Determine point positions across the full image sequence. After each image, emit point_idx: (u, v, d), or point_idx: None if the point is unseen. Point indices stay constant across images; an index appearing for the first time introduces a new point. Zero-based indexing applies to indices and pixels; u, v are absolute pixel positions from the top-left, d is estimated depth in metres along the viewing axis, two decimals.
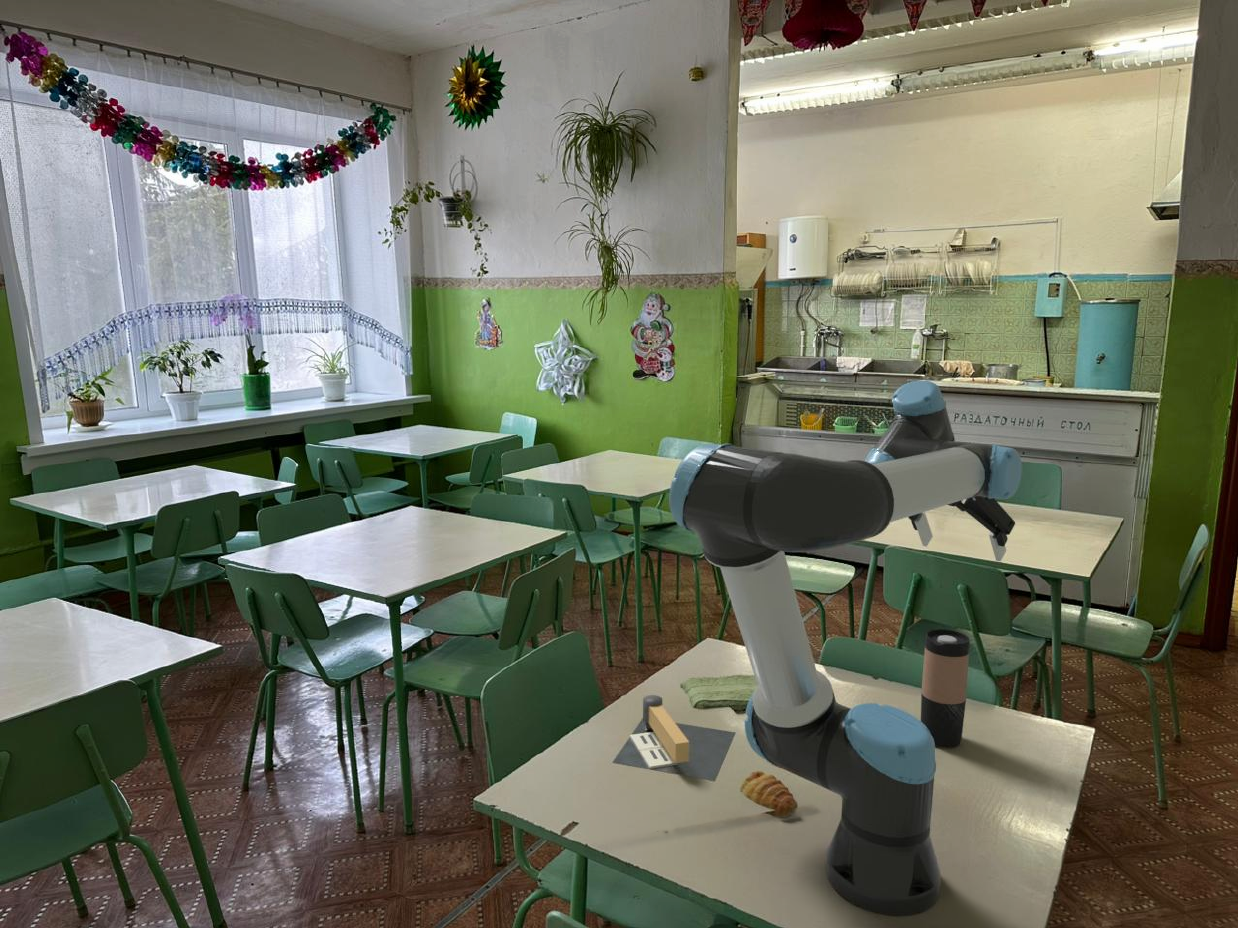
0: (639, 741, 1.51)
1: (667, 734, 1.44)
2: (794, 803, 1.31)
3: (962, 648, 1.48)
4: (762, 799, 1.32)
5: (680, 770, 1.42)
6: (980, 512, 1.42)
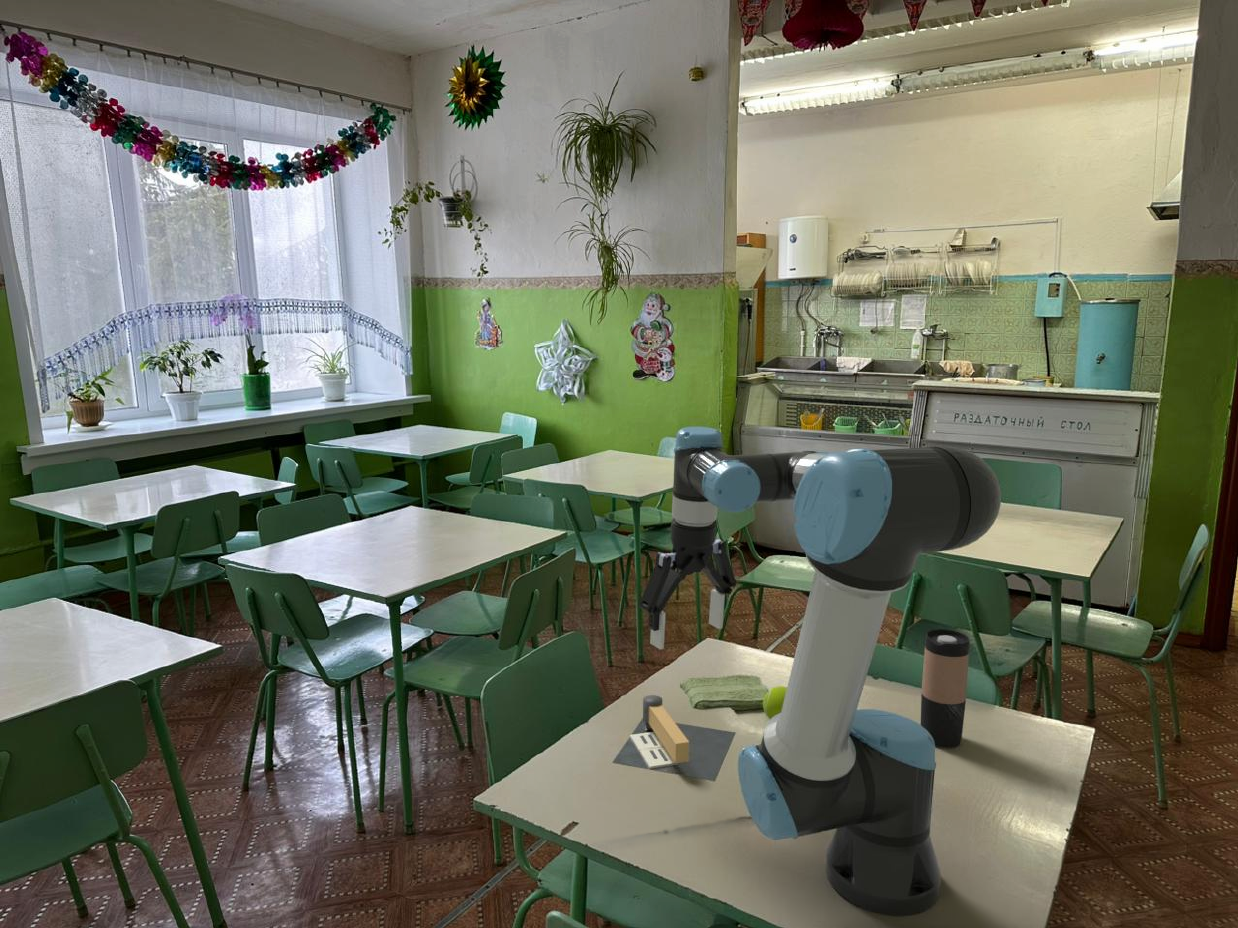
0: (639, 741, 1.51)
1: (667, 734, 1.44)
2: None
3: (962, 648, 1.48)
4: None
5: (680, 770, 1.42)
6: None
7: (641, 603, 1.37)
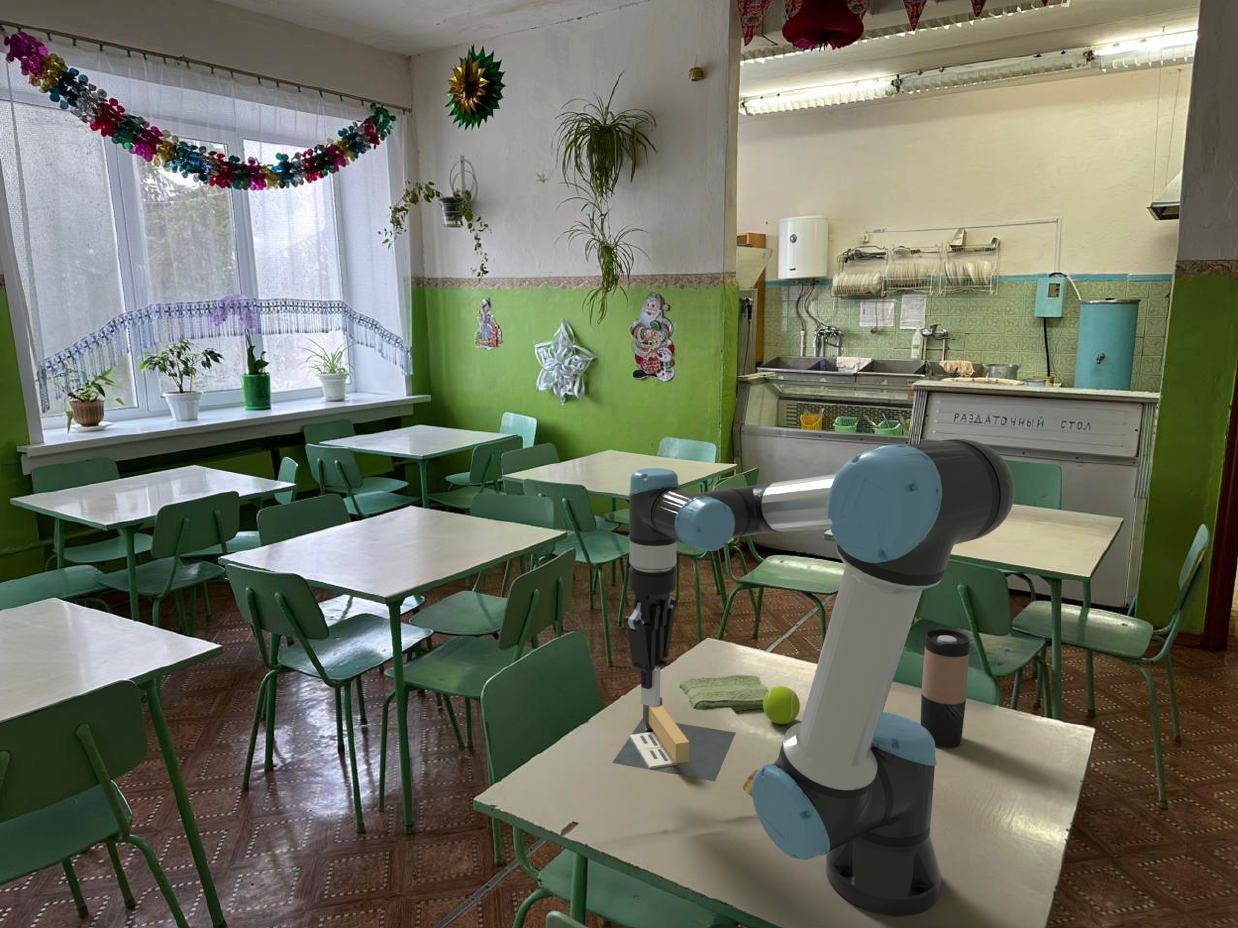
0: (639, 741, 1.51)
1: (667, 734, 1.44)
2: None
3: (962, 648, 1.48)
4: None
5: (680, 770, 1.42)
6: None
7: (634, 665, 1.33)
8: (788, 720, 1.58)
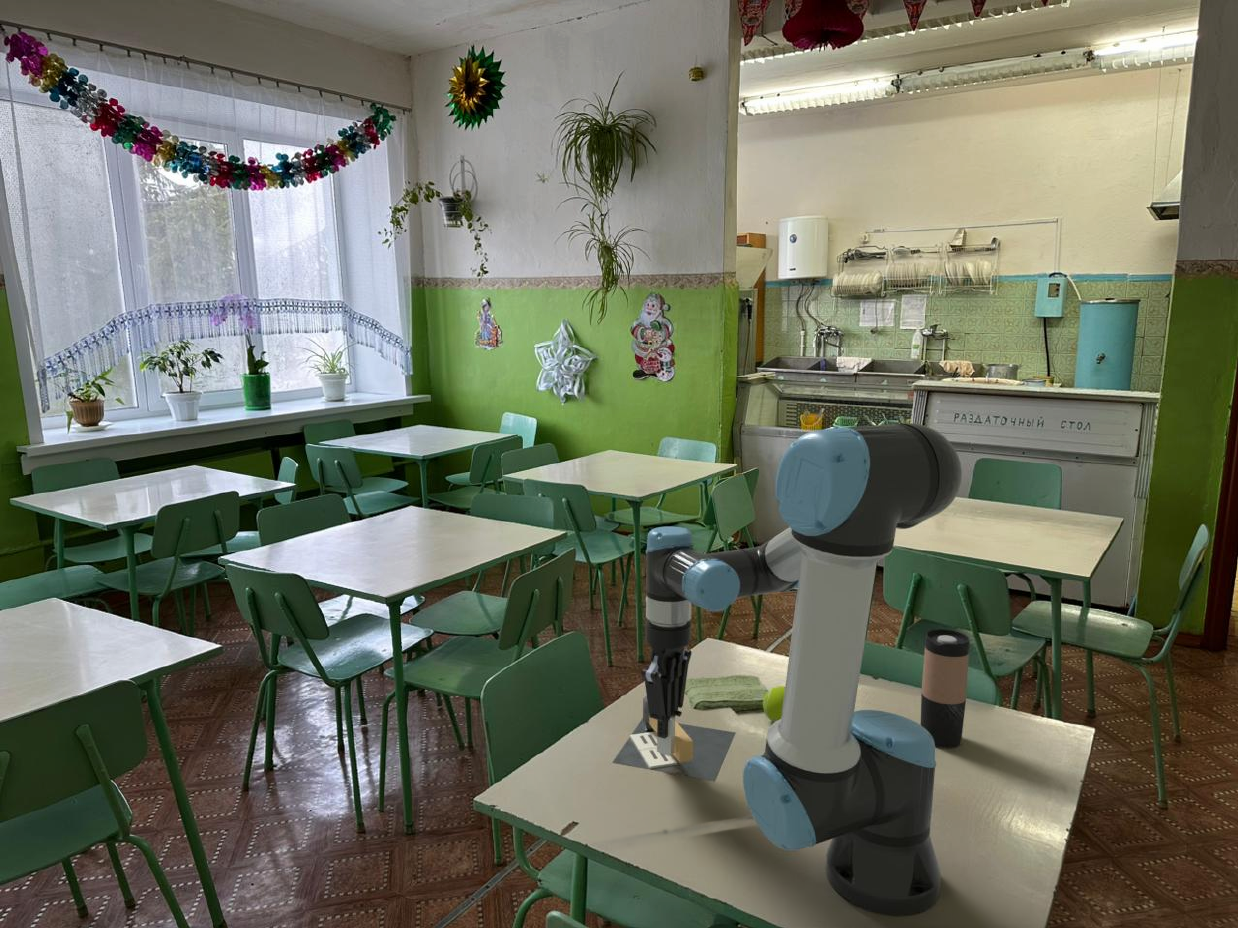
0: (639, 741, 1.51)
1: None
2: None
3: (962, 648, 1.48)
4: None
5: (680, 770, 1.42)
6: None
7: (651, 716, 1.39)
8: None
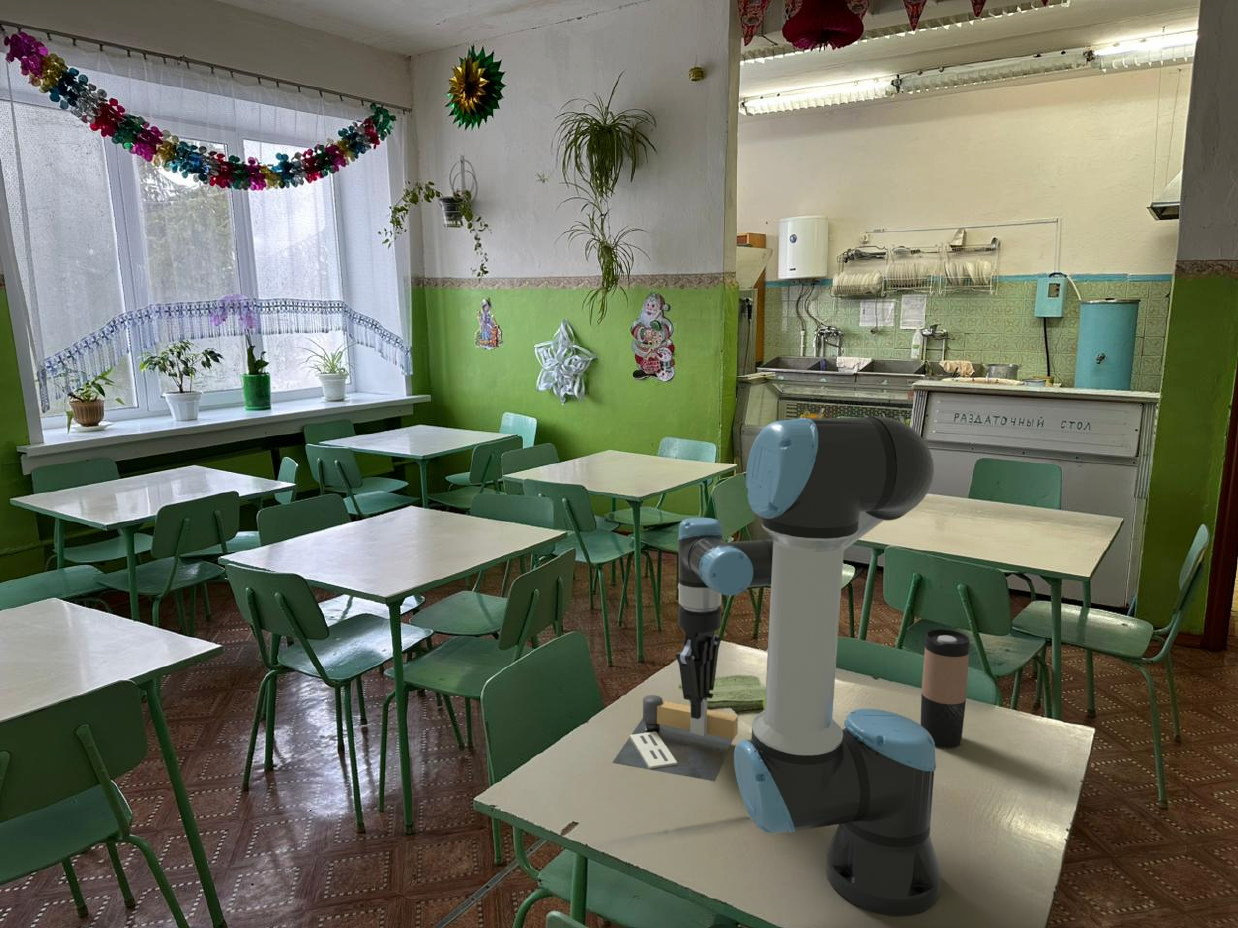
0: (639, 741, 1.51)
1: (711, 718, 1.50)
2: None
3: (962, 648, 1.48)
4: None
5: (680, 770, 1.42)
6: None
7: (685, 697, 1.47)
8: None
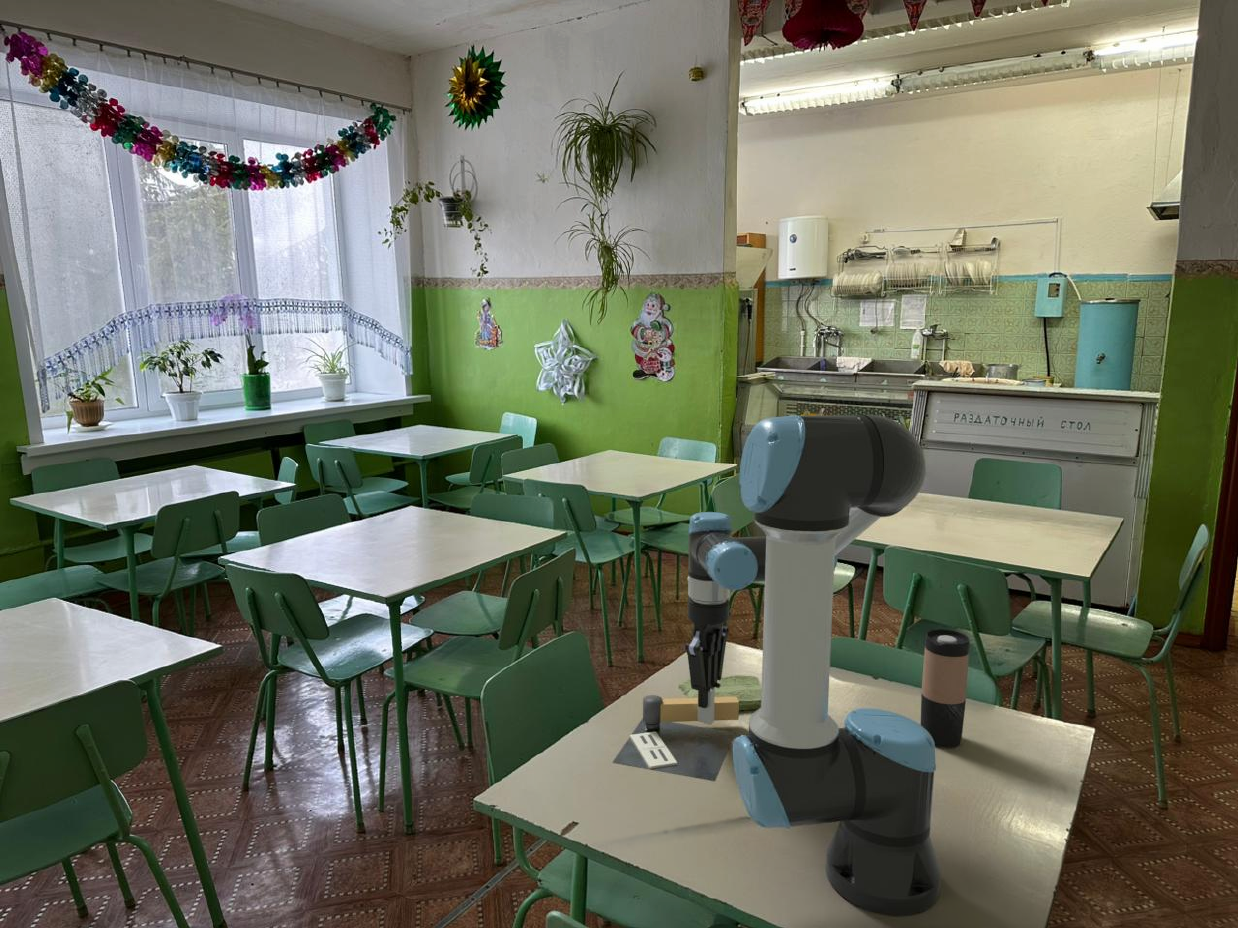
0: (639, 741, 1.51)
1: (716, 704, 1.55)
2: None
3: (962, 648, 1.48)
4: None
5: (680, 770, 1.42)
6: None
7: (693, 687, 1.50)
8: None
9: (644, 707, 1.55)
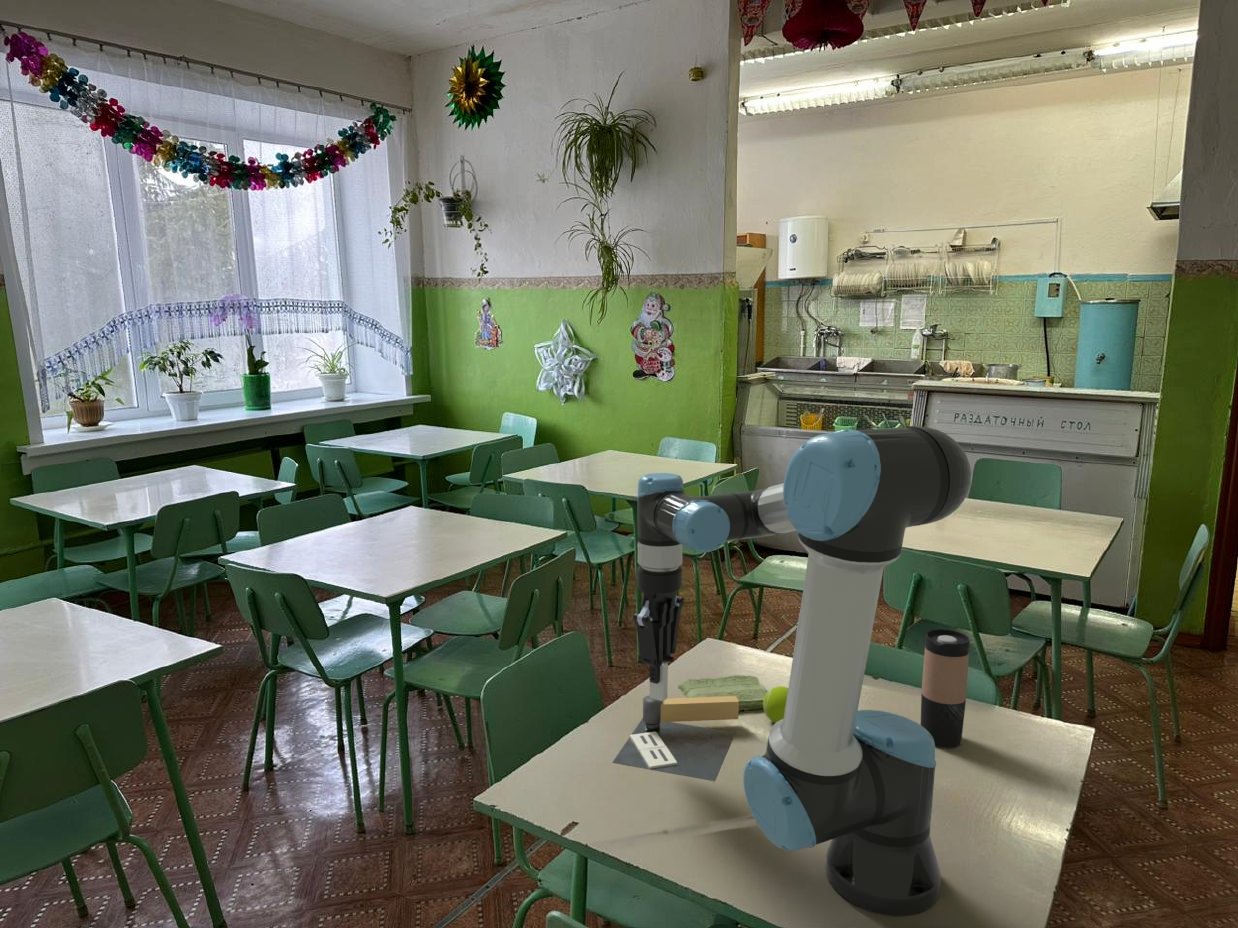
0: (639, 741, 1.51)
1: (716, 704, 1.55)
2: None
3: (962, 648, 1.48)
4: None
5: (680, 770, 1.42)
6: None
7: (643, 660, 1.40)
8: None
9: (644, 707, 1.55)
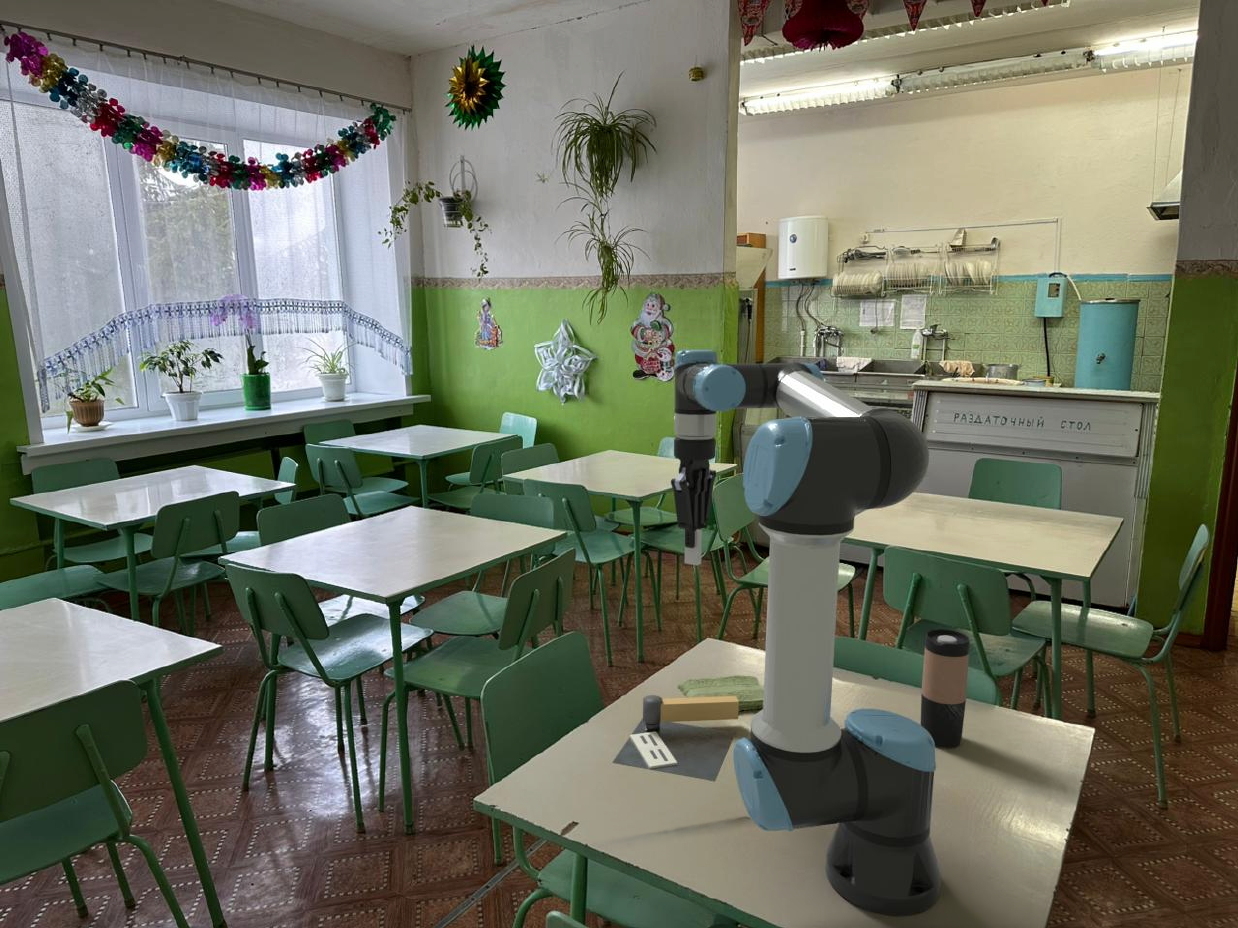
0: (639, 741, 1.51)
1: (716, 704, 1.55)
2: None
3: (962, 648, 1.48)
4: None
5: (680, 770, 1.42)
6: None
7: (679, 525, 1.50)
8: None
9: (644, 707, 1.55)
